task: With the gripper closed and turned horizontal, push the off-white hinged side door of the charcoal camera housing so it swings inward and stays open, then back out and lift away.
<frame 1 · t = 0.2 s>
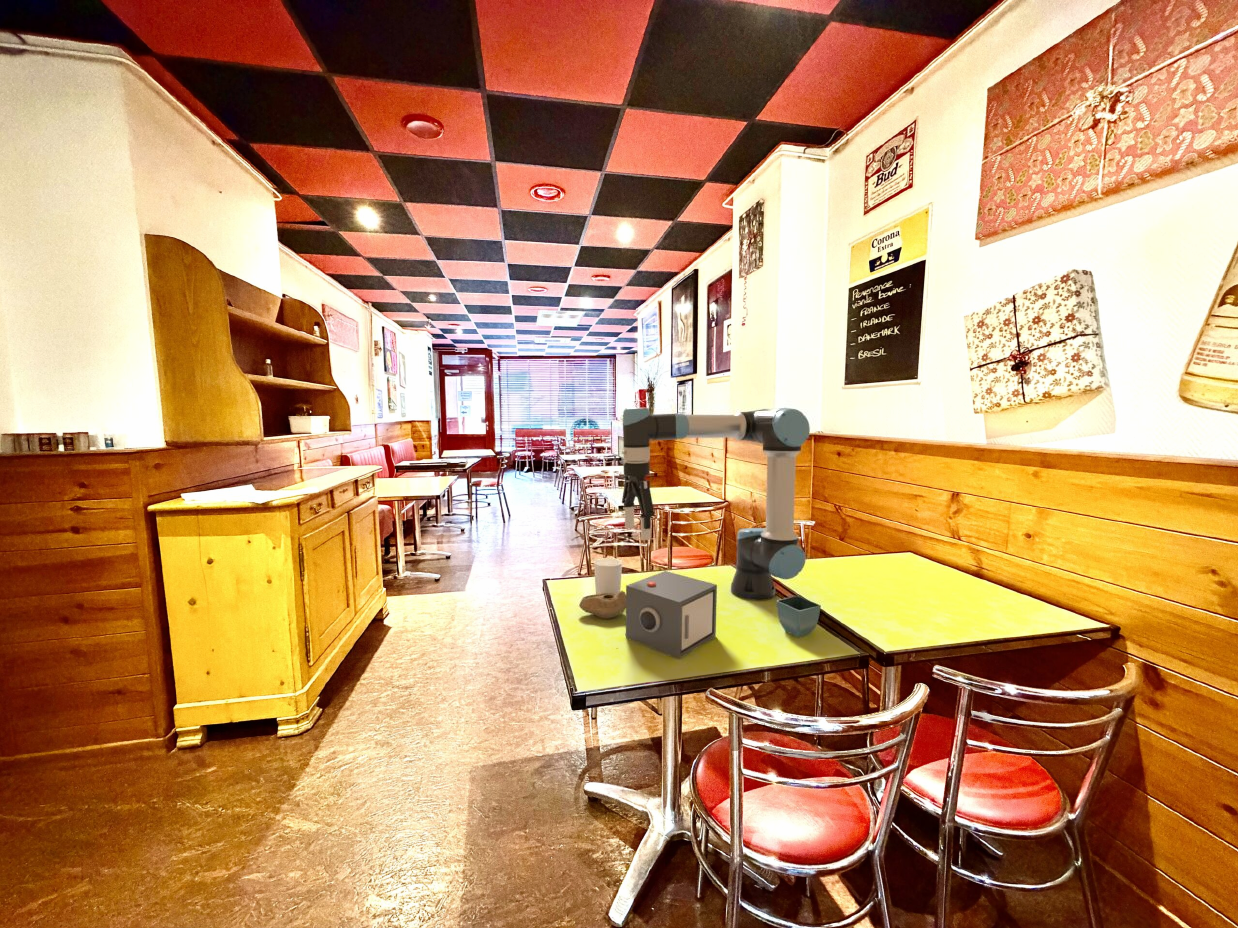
hand: (637, 533, 141), 28 cm above the table, tool pointing down, fingers open, 13 cm apart
oil lamp: (603, 616, 150), on the table
flower pot: (797, 633, 139), on the table
camera housing: (670, 636, 136), on the table
side door: (697, 619, 129), point 7 cm above the table, hinge at 0.0°
candle holder: (607, 596, 167), on the table
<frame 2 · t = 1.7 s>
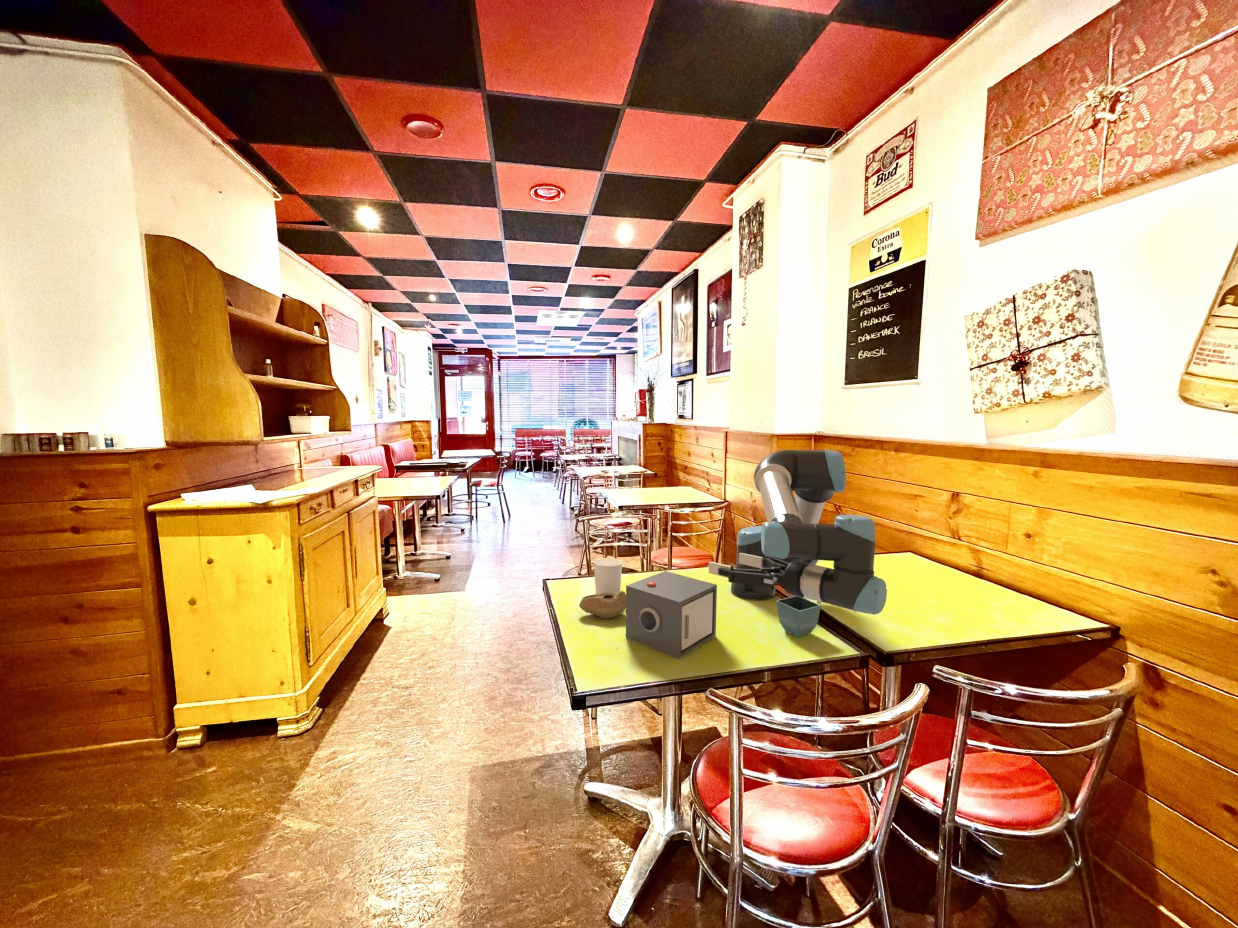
hand: (725, 562, 122), 25 cm above the table, tool horizontal, fingers open, 13 cm apart
nothing on the table moved.
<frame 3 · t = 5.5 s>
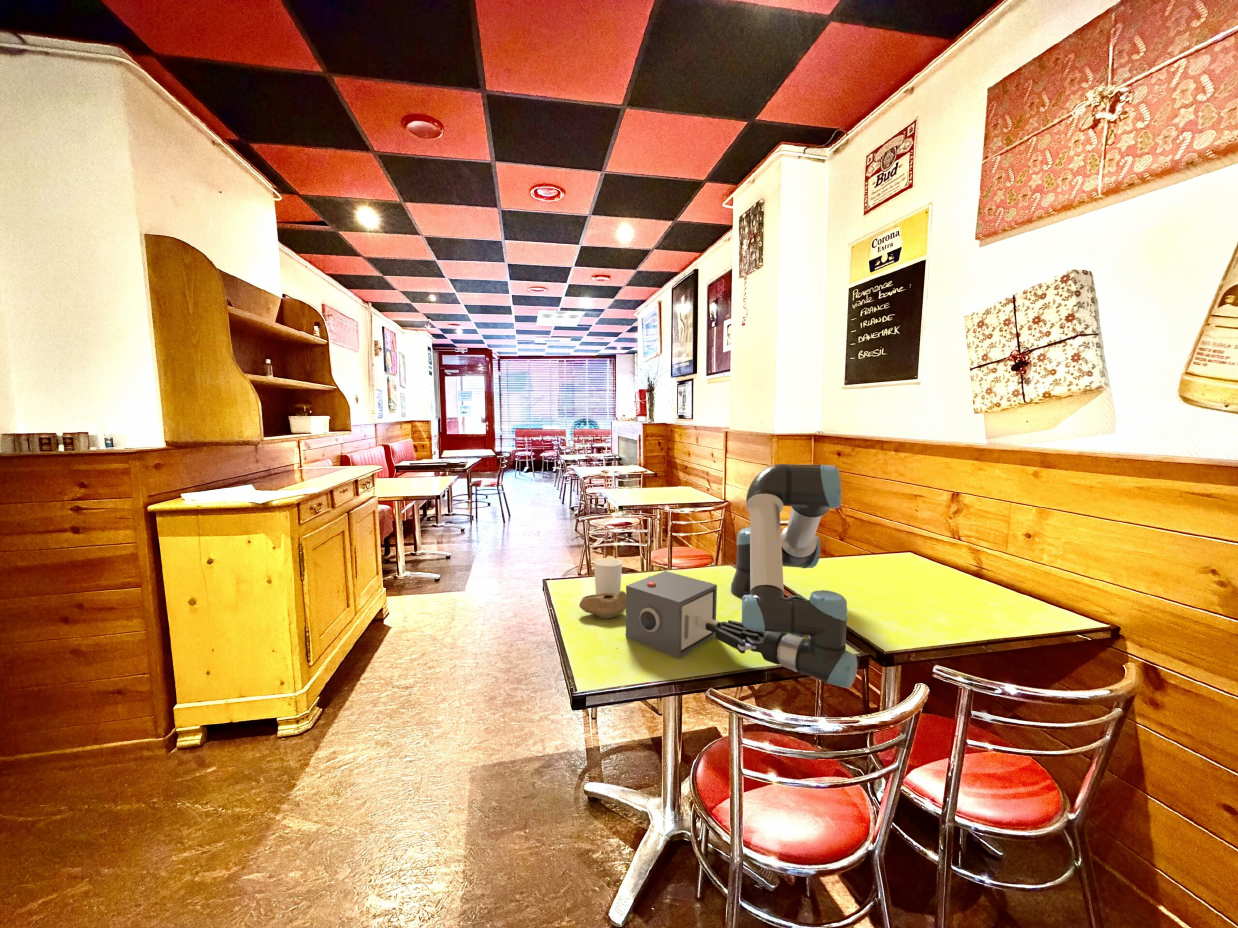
hand: (698, 620, 129), 7 cm above the table, tool horizontal, fingers closed
side door: (697, 619, 129), point 7 cm above the table, hinge at 0.4°, touching gripper
everything else where it was.
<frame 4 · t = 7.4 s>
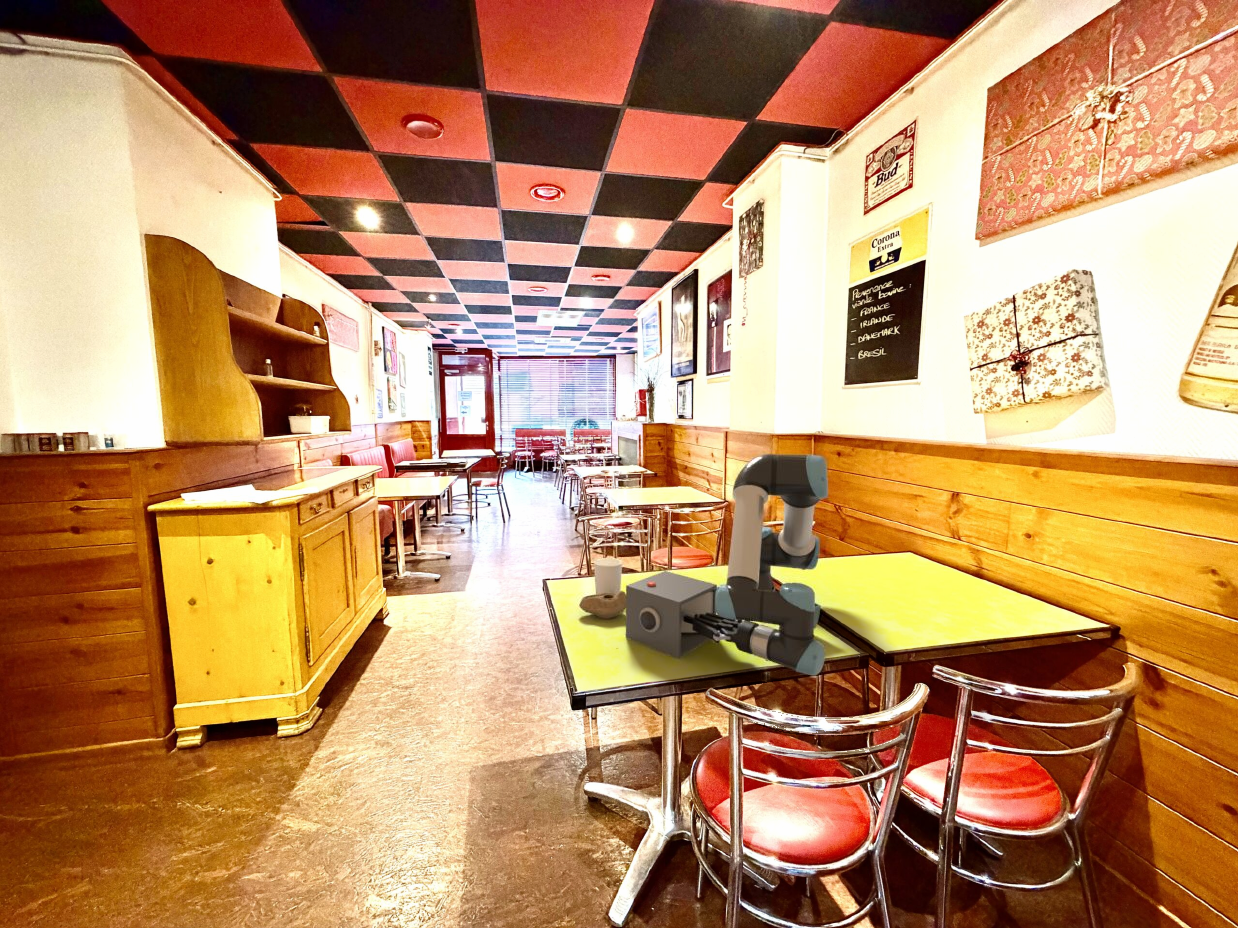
hand: (677, 613, 133), 7 cm above the table, tool horizontal, fingers closed
side door: (685, 612, 134), point 8 cm above the table, hinge at 46.5°, touching gripper
everything else where it was.
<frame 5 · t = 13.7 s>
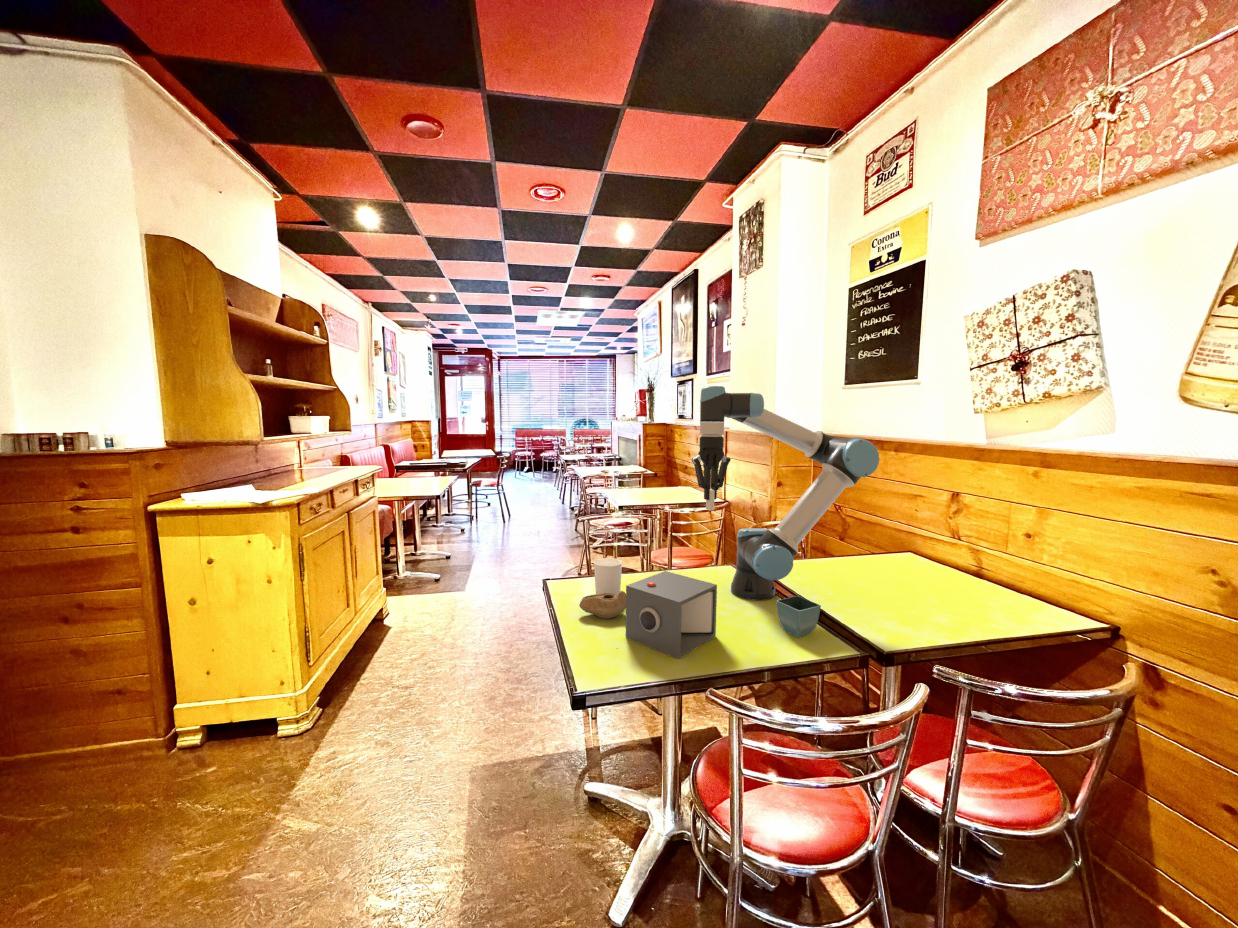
hand: (710, 509, 154), 32 cm above the table, tool pointing down, fingers closed
side door: (685, 612, 134), point 8 cm above the table, hinge at 46.5°
everything else where it was.
at the end: side door at +46° (first picture: +0°) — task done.
